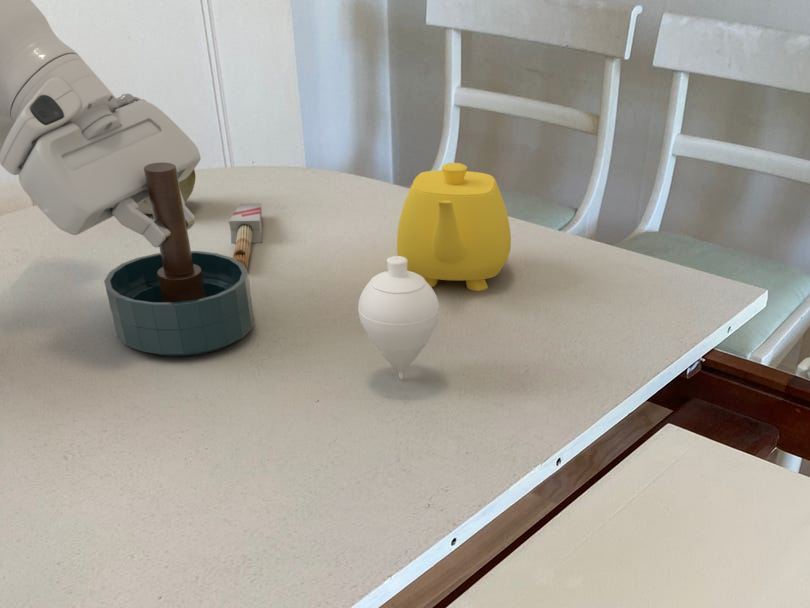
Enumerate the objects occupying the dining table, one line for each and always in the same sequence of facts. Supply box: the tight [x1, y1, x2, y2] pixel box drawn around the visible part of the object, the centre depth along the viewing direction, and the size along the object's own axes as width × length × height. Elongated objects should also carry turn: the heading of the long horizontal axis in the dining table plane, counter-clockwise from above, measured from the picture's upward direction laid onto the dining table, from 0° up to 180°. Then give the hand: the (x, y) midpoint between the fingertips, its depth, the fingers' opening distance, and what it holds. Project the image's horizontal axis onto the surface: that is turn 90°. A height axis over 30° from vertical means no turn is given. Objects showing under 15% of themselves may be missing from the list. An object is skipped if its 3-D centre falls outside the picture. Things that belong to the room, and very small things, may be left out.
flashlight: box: [144, 162, 206, 303], centre depth 98 cm, size 4×4×14 cm
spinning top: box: [357, 255, 440, 381], centre depth 93 cm, size 8×8×12 cm
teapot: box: [396, 162, 512, 292], centre depth 113 cm, size 13×20×12 cm
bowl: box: [103, 250, 255, 357], centre depth 102 cm, size 14×14×6 cm
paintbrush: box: [228, 202, 263, 271], centre depth 123 cm, size 4×3×20 cm
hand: (177, 234), depth 97 cm, fingers closed on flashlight, 3 cm apart
